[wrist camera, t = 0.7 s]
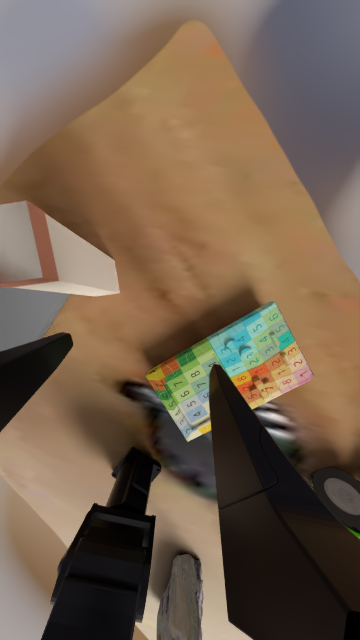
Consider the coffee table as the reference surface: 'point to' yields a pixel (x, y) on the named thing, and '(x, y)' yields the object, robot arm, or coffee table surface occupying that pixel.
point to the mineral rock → (182, 602)
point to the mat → (27, 314)
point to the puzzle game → (231, 368)
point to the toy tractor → (340, 496)
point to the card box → (50, 255)
